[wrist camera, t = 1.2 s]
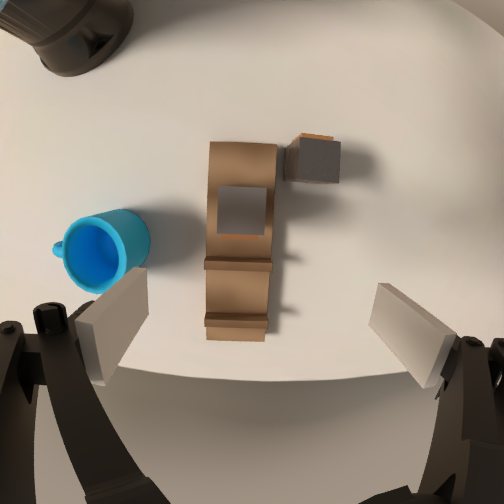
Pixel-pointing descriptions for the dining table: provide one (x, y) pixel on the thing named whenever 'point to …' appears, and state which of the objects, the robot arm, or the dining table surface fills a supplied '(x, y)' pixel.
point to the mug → (103, 249)
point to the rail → (239, 239)
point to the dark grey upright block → (312, 159)
